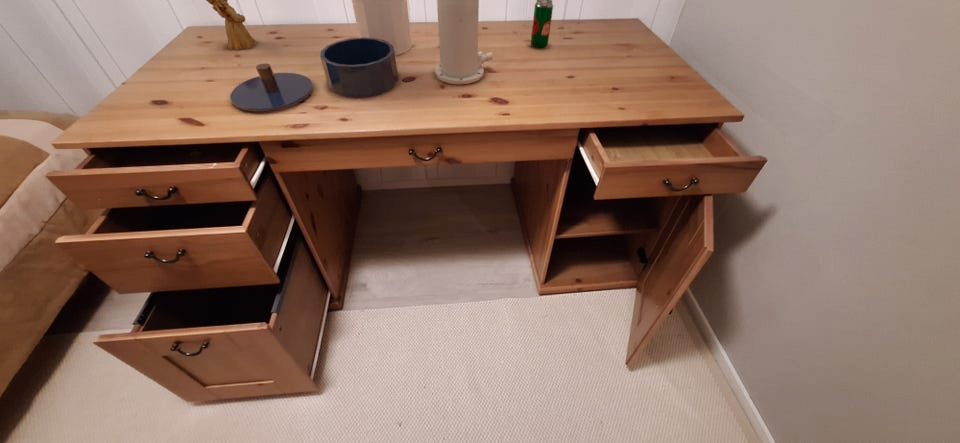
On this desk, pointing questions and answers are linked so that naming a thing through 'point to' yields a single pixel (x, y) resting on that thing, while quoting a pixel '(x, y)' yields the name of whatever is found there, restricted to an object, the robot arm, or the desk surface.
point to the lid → (271, 90)
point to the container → (384, 22)
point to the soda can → (541, 23)
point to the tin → (360, 67)
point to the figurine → (233, 26)
